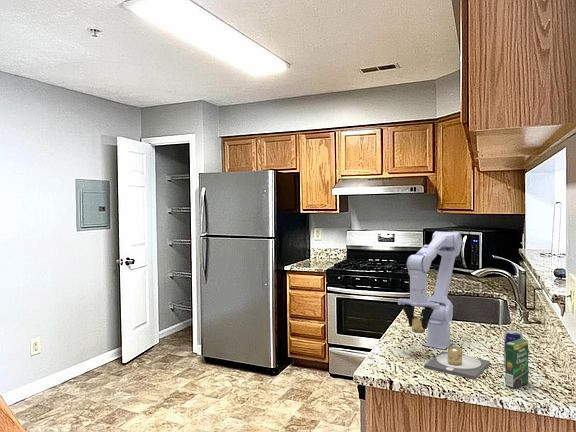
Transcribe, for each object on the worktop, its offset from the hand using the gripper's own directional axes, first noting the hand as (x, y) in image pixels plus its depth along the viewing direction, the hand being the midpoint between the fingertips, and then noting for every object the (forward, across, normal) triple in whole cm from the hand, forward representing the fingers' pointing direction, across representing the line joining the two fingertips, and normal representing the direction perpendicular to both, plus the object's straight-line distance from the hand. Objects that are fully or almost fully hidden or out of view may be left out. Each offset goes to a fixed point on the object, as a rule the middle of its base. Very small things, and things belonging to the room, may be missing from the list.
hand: (418, 327), depth 158 cm
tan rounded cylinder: (+1, 0, 0) cm, 1 cm away
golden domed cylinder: (+9, +14, -4) cm, 17 cm away
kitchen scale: (+10, +14, -1) cm, 17 cm away
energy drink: (+10, +29, +8) cm, 32 cm away
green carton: (+10, +33, -6) cm, 35 cm away
